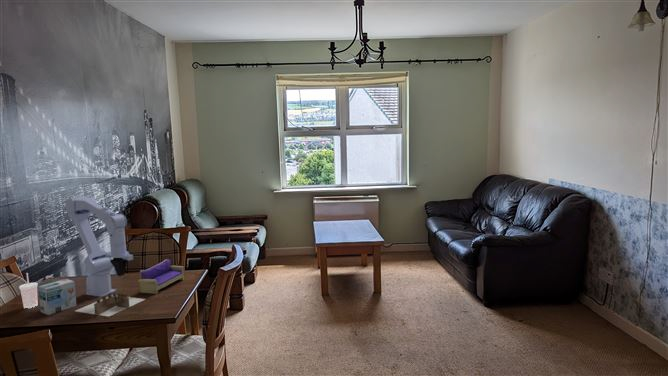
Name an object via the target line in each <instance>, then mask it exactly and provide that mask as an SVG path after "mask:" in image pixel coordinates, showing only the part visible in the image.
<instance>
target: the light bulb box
mask: <svg viewBox="0 0 668 376" xmlns="http://www.w3.org/2000/svg"><path fill="white" fill-rule="evenodd" d="M37 290H38V297H39V306H40V313H42V314H45V315H46V316H47V315H48V316H50V315H53V314H56V313H58V312H62V311H65V310H68V309H71V308H75V307H77V298H76V284H75V281H74V280H71V279H68V278H64V279H60V280H57V281H52V282H50V283H46V284H41V285H38V286H37Z"/></svg>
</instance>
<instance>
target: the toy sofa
mask: <svg viewBox="0 0 668 376" xmlns="http://www.w3.org/2000/svg"><path fill="white" fill-rule="evenodd" d="M184 269H185V266H184V265H171V260H170V259H167V258H166V259H164V260H163V261H162V262H159V263H158V264H155V265H153V266H151V267H149V268H147V269H141V270H140V271H139V277H140V278H139V279H138V281H137V282H138V283H139V288H140V290H139V291H140V293H142V294H155V295H158V294H159V291H160V290H161V289H163V288H165V287H167V286H168V285H170V284H173V283H175V282H176V281H184V280H185V274H184V273H185V272H184Z"/></svg>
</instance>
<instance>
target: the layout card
mask: <svg viewBox="0 0 668 376" xmlns="http://www.w3.org/2000/svg"><path fill="white" fill-rule="evenodd" d="M111 296H113V294H111ZM128 297H129V307H128V308H130V307H133V306H135V305H137V304H139V303H141V302H143V301H145V300H146V298H139V297H133V296H132V297H131V296H128ZM106 298H108V296H107V297H106ZM102 300H103V298H102V299H100V301H102ZM95 303H97V301H95V302H93V303H91V304H88V305H86V306H83V307H81V308H78V309H76V310H75V312H77V313H83V314H90V315H97V314H95V309H94V304H95ZM126 309H127V308H125V307H118V306H117V305H116V306H114V307H112V308H110V309H108V310H106V311H104V312H102V313H100V314H98V315H97V316H103V317H111V316H113V315H116V314H118V313H120V312H122V311H125V310H126Z"/></svg>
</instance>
